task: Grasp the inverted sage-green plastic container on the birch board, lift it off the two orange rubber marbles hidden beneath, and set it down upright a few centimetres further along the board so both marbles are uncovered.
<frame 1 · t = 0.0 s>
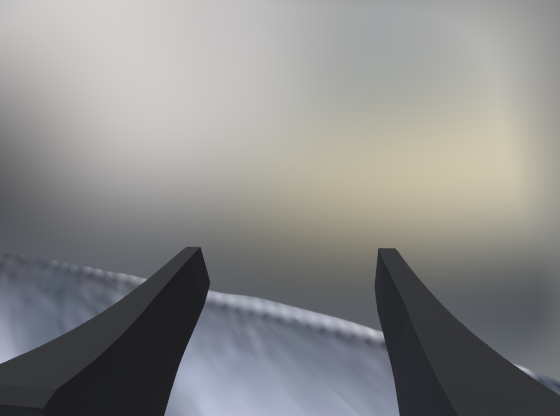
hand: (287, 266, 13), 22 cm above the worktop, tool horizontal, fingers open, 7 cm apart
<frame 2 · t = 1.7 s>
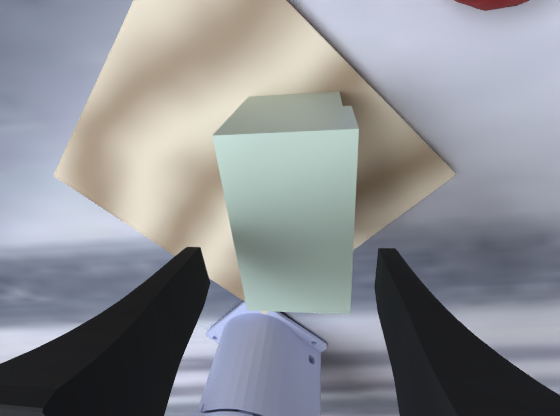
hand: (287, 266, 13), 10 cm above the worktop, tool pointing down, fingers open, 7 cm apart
birch board: (240, 169, 22), on the worktop
sage container: (300, 173, 20), point 1 cm above the worktop, touching birch board
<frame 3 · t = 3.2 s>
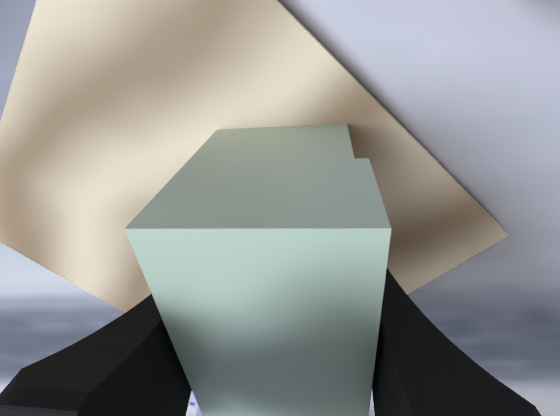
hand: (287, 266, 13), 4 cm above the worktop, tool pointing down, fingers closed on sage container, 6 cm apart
birch board: (214, 218, 16), on the worktop
sage container: (292, 229, 15), point 1 cm above the worktop, touching birch board, gripper
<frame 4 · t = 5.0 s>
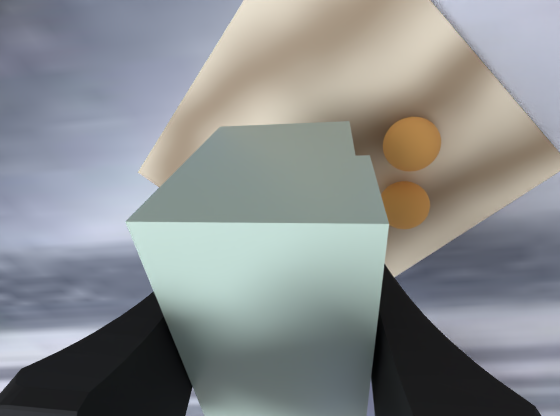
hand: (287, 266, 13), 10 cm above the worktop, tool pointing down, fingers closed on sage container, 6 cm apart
birch board: (333, 162, 21), on the worktop
marble a: (403, 205, 19), point 2 cm above the worktop, touching birch board
marble b: (411, 144, 17), point 2 cm above the worktop, touching birch board
sage container: (294, 227, 15), point 8 cm above the worktop, touching gripper
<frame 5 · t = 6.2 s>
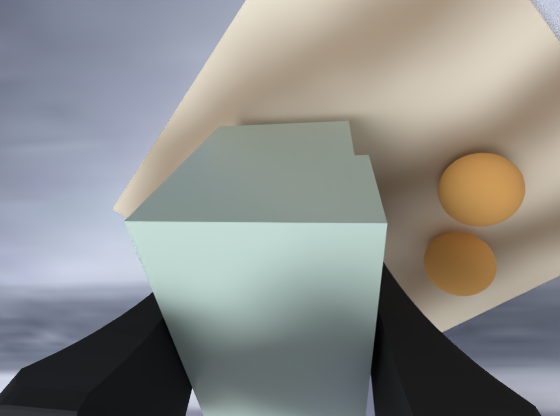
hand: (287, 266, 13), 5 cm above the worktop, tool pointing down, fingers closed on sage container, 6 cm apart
birch board: (363, 202, 16), on the worktop
marble a: (458, 263, 15), point 2 cm above the worktop, touching birch board
marble b: (478, 189, 13), point 2 cm above the worktop, touching birch board
sage container: (294, 227, 15), point 2 cm above the worktop, touching gripper
when the fingers open (5 cm above the worktop, at t = 7.1 s): sage container drops 1 cm, resting on birch board.
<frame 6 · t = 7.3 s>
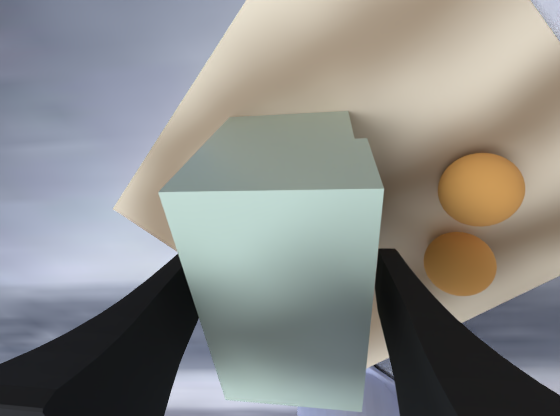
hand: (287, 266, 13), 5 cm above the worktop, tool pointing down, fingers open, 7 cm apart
birch board: (363, 202, 16), on the worktop
marble a: (458, 263, 15), point 2 cm above the worktop, touching birch board
marble b: (478, 189, 13), point 2 cm above the worktop, touching birch board
sage container: (297, 211, 16), point 1 cm above the worktop, touching birch board
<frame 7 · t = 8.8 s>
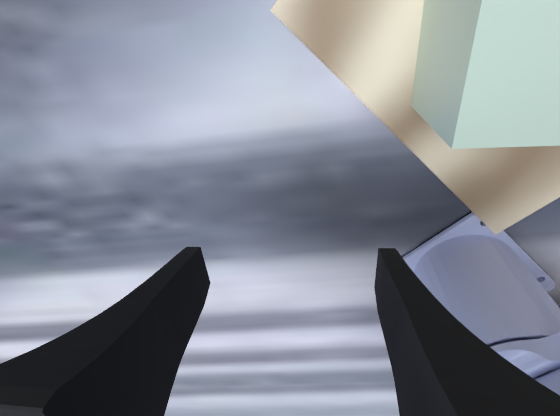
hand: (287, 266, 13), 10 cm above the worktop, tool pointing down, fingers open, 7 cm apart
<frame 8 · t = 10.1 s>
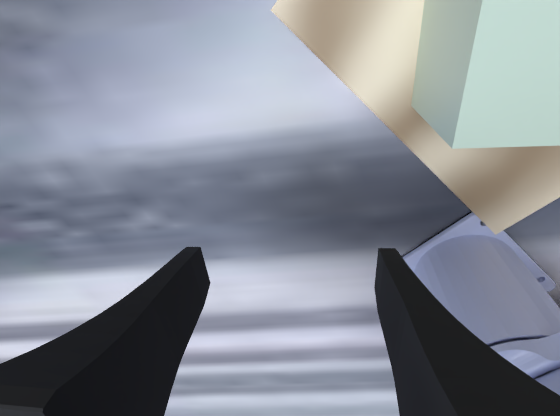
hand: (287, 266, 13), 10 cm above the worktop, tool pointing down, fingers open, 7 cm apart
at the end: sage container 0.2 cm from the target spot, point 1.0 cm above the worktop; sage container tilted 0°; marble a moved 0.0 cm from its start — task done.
